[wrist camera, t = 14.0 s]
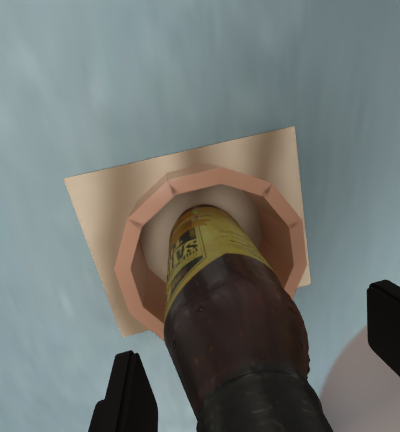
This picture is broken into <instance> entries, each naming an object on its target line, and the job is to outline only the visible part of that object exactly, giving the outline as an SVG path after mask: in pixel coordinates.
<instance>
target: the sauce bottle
mask: <svg viewBox="0 0 400 432" xmlns="http://www.w3.org/2000/svg"><path fill="white" fill-rule="evenodd" d="M164 340H165V344H166V346H167V349H168V351H169V353H170V356H171V358H172V361H173V363H174V366H175V368H176V370H177V373H178V375H179V378H180V380H181V383H182V385H183V388H184V390H185V392H186V395H187V397H188V400H189V402H190V404H191V407H192V409H193V412H194V414H195V416H196V419H197V421H198V423H197V427H196V430H197V432H333V430H332V428H331V426H330V424H329V423H328V421H327V419H326V417H325V416H324V414H323V410H322V405H321V403H320V400H319V398H318V396H317V394H316V393H315V391H314V389H313V388H312V387H311V386H310V385H309V383H308V381H307V379H308V377H307V374H308V373H309V371H310V368H309V362H310V358H309V355H308V350H309V346H308V338H307V331H306V328H305V325H304V321H303V319H302V316H301V314H300V312H299V310H298V308H297V306H296V304H295V303H294V301H293V300H292V299H291V297H290V295H289V294H288V293H287V292H286V291H285V289H284V288H283V286H282V284H281V282H280V280H279V278H278V276H277V275H276V274H275V272H274V271H273V270H272V268H271V267H270V265H269V264H268V263H267V261H266V260H265V259H264V257H263V256H262V255H261V254H260V252H259V251H258V250H257V248H256V247H255V246H254V244H253V243H252V241H251V240H250V239H249V238H248V236H247V235H246V233H245V232H244V231H243V229H242V228H241V227H240V225H239V224H238V223H237V221H236V220H235V219H234V218H233V217H232V216H231V215H230V214H228V213H227V212H226V211H224V210H222V209H220V208H218V207H216V206H214V205H209V204H201V205H197V206H193V207H192V208H190V209H188V210H185V211H184V212H183V213H182V214H181V215H180V217H179V218H178V219H177V221H176V223H175V224H174V226H173V228H172V231H171V234H170V239H169V254H168V269H167V283H166V301H165V316H164Z"/></svg>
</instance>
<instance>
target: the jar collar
mask: <svg viewBox="0 0 400 432" xmlns="http://www.w3.org/2000/svg"><path fill="white" fill-rule="evenodd" d="M218 184H225V185H228V186H231V187H234V188H237V189H241V190H242V191H243V192H244V193H245V194H246V195H247V197H248V198H249V199H250V200H251V201H252V202H253V203H254V205H255V206H256V207H257V208H258V212H259V219H260V225H261V231H262V241H261V243H260V246H259V249H258V251H259V252H260V254H261V255H262V256H263V257H264V259H265V260H266V261H267V263H268V264H269V265H270V267H271V268H272V270H273V271H274V272H275V274H276V275H277V276H278V278H279V280H280V282H281V284H282V286H283V288H284V289H285V291H286V292H287V293H288V294H289V295H290V297H291V299H293V297H294V294H295V292H296V290H297V287H298V285H299V283H300V280H301V278H302V276H303V273H304V271H305V269H306V266H307V260H306V250H305V241H304V231H303V222H302V219H301V218H300V217H299V215H298V214H297V213H296V212H295V211H294V209H293V208H292V207H291V206H290V204H289V203H288V202H287V201H286V199H285V198H284V197H283V196H282V194H281V193H280V192H279V191H278V189H277V188H276V187H275V186H274V184H273V183H270V182H267V181H264V180H261V179H258V178H255V177H252V176H249V175H246V174H242V173H239V172H236V171H233V170H230V169H227V168H224V167H220V166H216V165H212V164H208V163H206V164H202V165H198V166H193V167H189V168H185V169H180V170H176V171H172V172H168V173H166V174H165V175H164V176H163V177H162V178H161V179H160V180H159V181H158V182H157V183H156V184H155V185H153V186H152V187H151V188H150V189H149V190H148V191H147V192H146V193H145V194H144V195H143V196H142V197H141V198H140V199H139V200H138V201H137V203H136V204H135V206H134V208H133V209H132V211H131V213H130V215H129V216H128V218H127V221H126V225H125V229H124V232H123V236H122V240H121V244H120V248H119V252H118V256H117V260H116V263H115V267H114V271H115V273H116V276H117V279H118V282H119V285H120V288H121V290H122V293H123V296H124V299H125V302H126V305H127V308H128V310H129V313H130V315H132V316H133V317H134V318H136V319H137V320H138V321H139V322H141V323H142V324H143V325H145V326H146V327H147V328H148V329H150V330H151V331H152V332H154V333H155V334H156V335H157V336H159V337H160V338H161V339H163V340H164V316H165V301H166V283H165V282H164V281H163V280H162V279H160V278H159V277H158V276H157V275H156V274H155V273H154V272H152V271H151V270H150V269H149V268H148V265H147V262H146V259H145V255H144V252H143V249H142V245H141V242H140V239H139V238H140V234H141V231H142V227H143V225H144V224H145V223H146V222H147V221H148V220H150V219H151V218H152V217H153V216H154V215H155V214H156V213H157V212H158V211H159V210H160V209H161V208H162V207H163V206H164V205H165V204H166V203H168V202H169V201H170V200H171V199H172V198H173V197H174V196H175V195H176V194H181V193H185V192H189V191H193V190H197V189H201V188H206V187H210V186H214V185H218ZM164 341H165V340H164Z"/></svg>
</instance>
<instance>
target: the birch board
mask: <svg viewBox="0 0 400 432" xmlns="http://www.w3.org/2000/svg"><path fill="white" fill-rule="evenodd" d="M206 163H208V164H212V165H216V166H220V167H224V168H227V169H230V170H233V171H236V172H239V173H242V174H246V175H249V176H252V177H255V178H258V179H261V180H264V181H267V182H270V183H273V184H274V186H275V187H276V188H277V189H278V191H279V192H280V193H281V194H282V196H283V197H284V198H285V199H286V201H287V202H288V203H289V204H290V206H291V207H292V208H293V209H294V211H295V212H296V213H297V214H298V215H299V217H300V218H301V219H302V222H303V231H304V241H305V250H306V260H307V266H306V269H305V271H304V273H303V276H302V278H301V280H300V283H299V285H298V287H297V288H299V287H303V286H306V285H310V284H311V278H310V269H309V259H308V250H307V240H306V230H305V221H304V211H303V202H302V192H301V182H300V173H299V163H298V154H297V144H296V134H295V126H293V127H288V128H283V129H279V130H275V131H270V132H266V133H261V134H257V135H253V136H248V137H244V138H239V139H235V140H231V141H226V142H222V143H217V144H213V145H209V146H204V147H200V148H196V149H191V150H187V151H182V152H178V153H174V154H169V155H165V156H160V157H156V158H152V159H147V160H143V161H138V162H134V163H130V164H125V165H121V166H117V167H112V168H108V169H103V170H99V171H95V172H90V173H86V174H81V175H77V176H73V177H68V178H64V182H65V184H66V187H67V190H68V193H69V195H70V198H71V201H72V203H73V206H74V209H75V211H76V214H77V217H78V219H79V222H80V225H81V227H82V230H83V233H84V236H85V238H86V241H87V244H88V246H89V249H90V252H91V254H92V257H93V260H94V262H95V265H96V268H97V270H98V273H99V276H100V279H101V281H102V284H103V287H104V289H105V292H106V295H107V297H108V300H109V303H110V305H111V308H112V311H113V313H114V316H115V319H116V322H117V324H118V327H119V330H120V332H121V335H122V337H126V336H129V335H133V334H136V333H140V332H143V331H147V330H150V329H148V328H147V327H146V326H145V325H143V324H142V323H141V322H139V321H138V320H137V319H136V318H134V317H133V316H132V315H130V313H129V310H128V308H127V305H126V302H125V299H124V296H123V293H122V290H121V288H120V285H119V282H118V279H117V276H116V273H115V271H114V267H115V263H116V260H117V256H118V252H119V248H120V244H121V240H122V236H123V232H124V229H125V225H126V221H127V218H128V216H129V215H130V213H131V211H132V209H133V208H134V206H135V204H136V203H137V201H138V200H139V199H140V198H141V197H142V196H143V195H144V194H145V193H146V192H147V191H148V190H149V189H150V188H151V187H152V186H153V185H155V184H156V183H157V182H158V181H159V180H160V179H161V178H162V177H163V176H164V175H165V174H166V173H168V172H172V171H176V170H180V169H185V168H189V167H193V166H198V165H202V164H206ZM201 204H209V205H214V206H216V207H218V208H220V209H222V210H224V211H226V212H227V213H228V214H230V215H231V216H232V217H233V218H234V219H235V220H236V221H237V223H238V224H239V225H240V227H241V228H242V229H243V231H244V232H245V233H246V235H247V236H248V238H249V239H250V240H251V241H252V243H253V244H254V246H255V247H256V248H257V250H258V249H259V246H260V243H261V241H262V231H261V225H260V219H259V212H258V208H257V207H256V206H255V205H254V203H253V202H252V201H251V200H250V199H249V198H248V197H247V195H246V194H245V193H244V192H243V191H242V190H241V189H237V188H234V187H231V186H228V185H225V184H218V185H214V186H210V187H206V188H201V189H197V190H193V191H189V192H185V193H181V194H176V195H175V196H174V197H173V198H172V199H171V200H170V201H169V202H168V203H166V204H165V205H164V206H163V207H162V208H161V209H160V210H159V211H158V212H157V213H156V214H155V215H154V216H153V217H152V218H151V219H150V220H148V221H147V222H146V223H145V224H144V225H143V227H142V231H141V234H140V238H139V239H140V242H141V245H142V249H143V252H144V255H145V259H146V262H147V265H148V268H149V269H150V270H151V271H152V272H154V273H155V274H156V275H157V276H158V277H159V278H160V279H162V280H163V281H164V282H165V283H167V269H168V254H169V239H170V234H171V231H172V228H173V226H174V224H175V223H176V221H177V219H178V218H179V217H180V215H181V214H182V213H183V212H184V211H185V210H188V209H190V208H192V207H193V206H197V205H201Z"/></svg>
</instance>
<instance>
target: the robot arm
mask: <svg viewBox="0 0 400 432" xmlns="http://www.w3.org/2000/svg"><path fill="white" fill-rule="evenodd" d="M367 327H368V343H369V345H370V347H371V349H372V350H373V351H374V352H375V353H376V354H377V355H378V356H379V357H380V358H381V359H382V360H383V361H384V362H385V363H386V364H387V365H388V366H389V367H390V368H391V369H392V370H393V371H394V372H396V374H398V376H400V287H399V286H397V285H395V284H394V283H392V282H390V281H388V280H382V281H378V282H375V283H371V284H370V285H369V288H368V289H367ZM88 432H158V407H157V403H156V400H155V397H154V394H153V392H152V389H151V386H150V384H149V381H148V378H147V375H146V373H145V370H144V367H143V364H142V362H141V359H140V356H139V354H138V353H135V354H134V353H133V351H132V350H130V351H127V352H123V353H120V354H117V355H116V356H115V359H114V363H113V367H112V371H111V375H110V380H109V384H108V388H107V392H106V396H105V399H104V400H101V401H99V402H98V403H97V404H96V406H95V409H94V412H93V416H92V419H91V423H90V427H89V430H88Z"/></svg>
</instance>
